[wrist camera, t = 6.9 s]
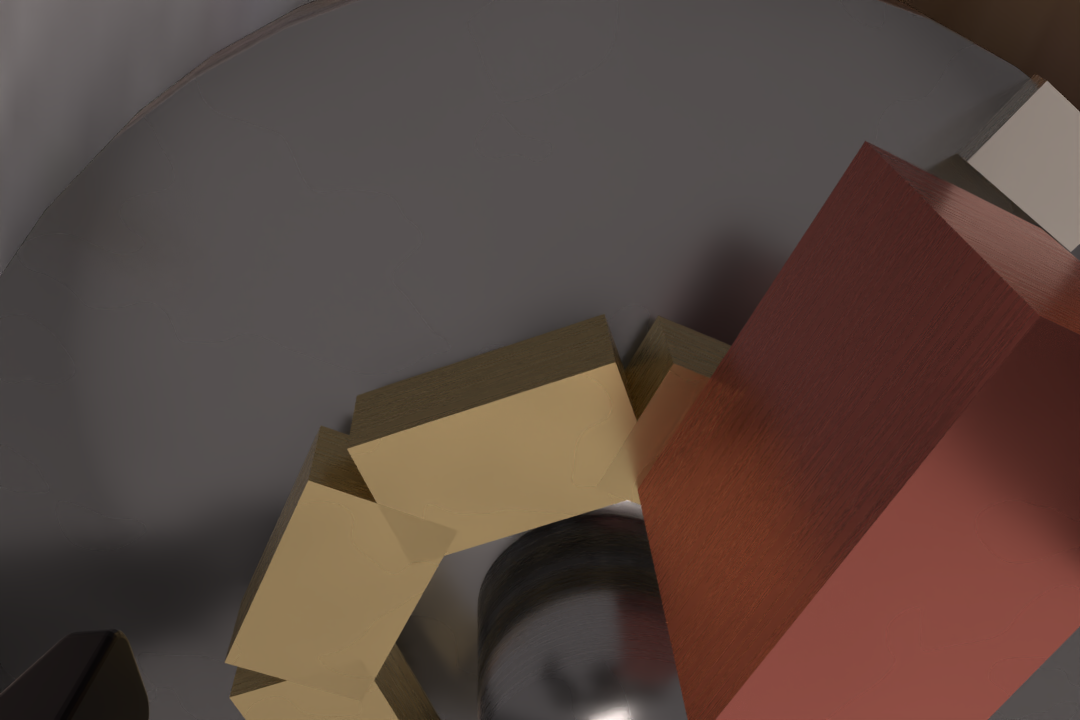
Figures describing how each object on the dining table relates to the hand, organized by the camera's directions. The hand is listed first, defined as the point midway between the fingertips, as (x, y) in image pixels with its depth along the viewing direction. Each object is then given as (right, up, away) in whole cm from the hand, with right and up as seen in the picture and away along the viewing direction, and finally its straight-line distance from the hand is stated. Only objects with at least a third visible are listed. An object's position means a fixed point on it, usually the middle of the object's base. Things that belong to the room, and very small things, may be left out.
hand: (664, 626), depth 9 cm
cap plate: (0, -1, +8) cm, 8 cm away
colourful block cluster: (0, -2, +7) cm, 7 cm away
